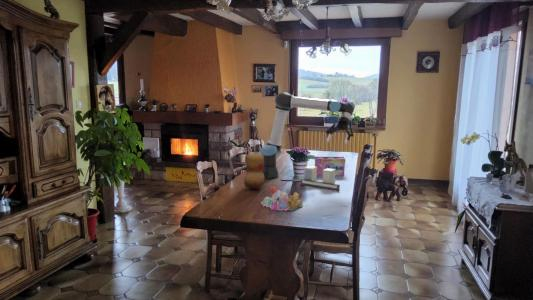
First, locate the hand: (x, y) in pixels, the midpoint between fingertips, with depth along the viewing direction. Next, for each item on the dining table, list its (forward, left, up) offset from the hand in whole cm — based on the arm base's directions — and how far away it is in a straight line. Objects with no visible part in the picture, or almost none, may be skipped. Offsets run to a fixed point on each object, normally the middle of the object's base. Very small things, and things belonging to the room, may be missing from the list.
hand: (336, 142), depth 265 cm
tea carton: (-9, -5, -30) cm, 32 cm away
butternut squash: (-58, +11, -30) cm, 67 cm away
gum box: (+14, +24, -30) cm, 41 cm away
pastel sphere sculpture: (-59, -26, -30) cm, 71 cm away
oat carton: (-16, +7, -30) cm, 35 cm away
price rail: (-16, -5, -30) cm, 34 cm away
